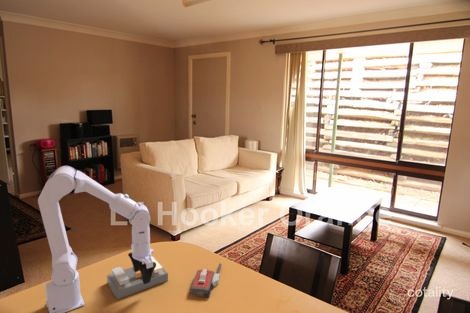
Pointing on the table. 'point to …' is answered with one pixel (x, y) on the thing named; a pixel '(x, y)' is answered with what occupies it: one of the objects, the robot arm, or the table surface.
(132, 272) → the panel
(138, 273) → the orange rectangular block
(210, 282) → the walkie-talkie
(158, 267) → the cream bar
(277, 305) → the table surface
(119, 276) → the grey bar
